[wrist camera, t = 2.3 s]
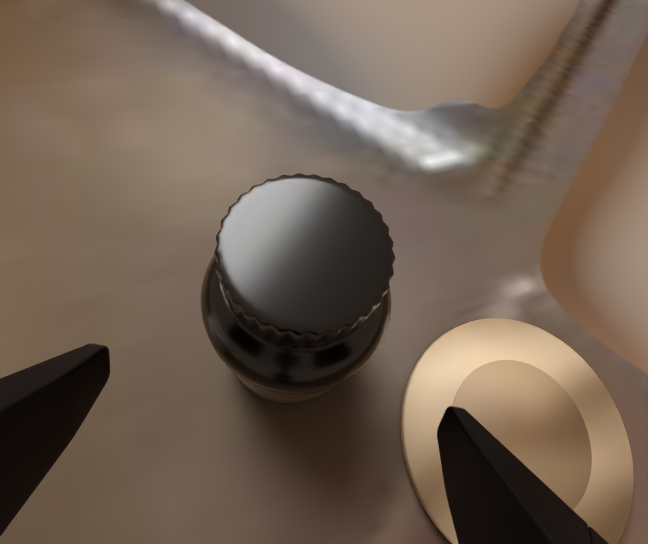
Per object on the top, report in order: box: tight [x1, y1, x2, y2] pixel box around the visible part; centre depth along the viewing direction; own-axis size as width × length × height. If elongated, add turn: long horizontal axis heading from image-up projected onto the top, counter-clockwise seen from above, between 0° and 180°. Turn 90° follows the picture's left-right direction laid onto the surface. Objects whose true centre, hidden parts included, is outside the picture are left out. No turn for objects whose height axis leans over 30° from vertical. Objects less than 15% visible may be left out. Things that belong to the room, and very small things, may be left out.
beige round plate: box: [400, 318, 634, 544], centre depth 19 cm, size 13×13×1 cm
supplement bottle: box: [201, 174, 395, 403], centre depth 15 cm, size 7×7×12 cm
